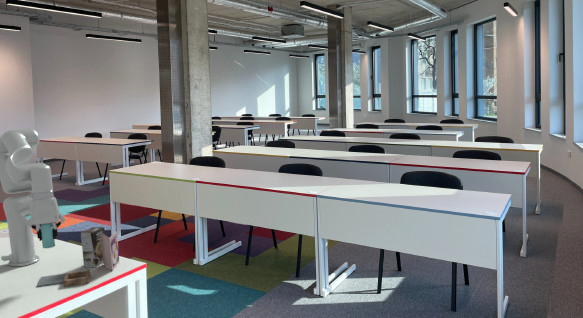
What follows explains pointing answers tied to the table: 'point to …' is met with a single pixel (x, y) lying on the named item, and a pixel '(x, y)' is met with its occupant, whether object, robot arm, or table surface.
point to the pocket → (77, 278)
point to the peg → (47, 235)
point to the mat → (51, 280)
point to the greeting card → (110, 250)
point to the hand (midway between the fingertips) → (48, 238)
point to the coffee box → (92, 246)
